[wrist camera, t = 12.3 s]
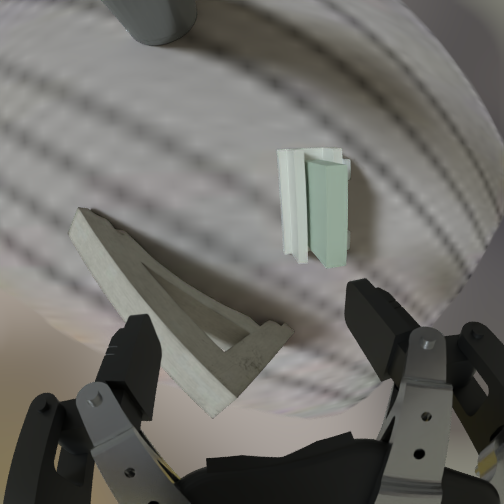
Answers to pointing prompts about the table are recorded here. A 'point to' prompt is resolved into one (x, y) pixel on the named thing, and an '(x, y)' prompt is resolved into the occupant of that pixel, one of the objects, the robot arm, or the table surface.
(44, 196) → the table surface
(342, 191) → the tapered block
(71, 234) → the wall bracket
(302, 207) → the rail
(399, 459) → the robot arm
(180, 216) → the table surface
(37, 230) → the table surface
